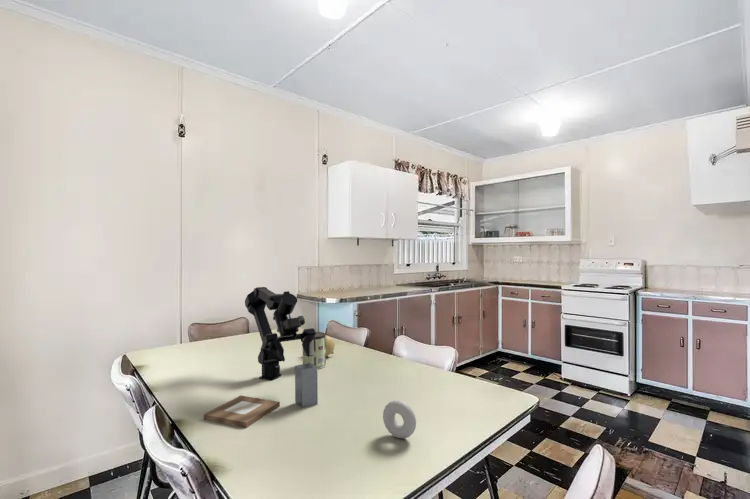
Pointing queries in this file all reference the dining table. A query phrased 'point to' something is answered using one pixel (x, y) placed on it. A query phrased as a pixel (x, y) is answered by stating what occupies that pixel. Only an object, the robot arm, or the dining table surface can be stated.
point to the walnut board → (242, 411)
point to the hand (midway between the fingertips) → (296, 358)
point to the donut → (406, 414)
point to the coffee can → (316, 351)
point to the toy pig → (329, 345)
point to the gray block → (306, 385)
